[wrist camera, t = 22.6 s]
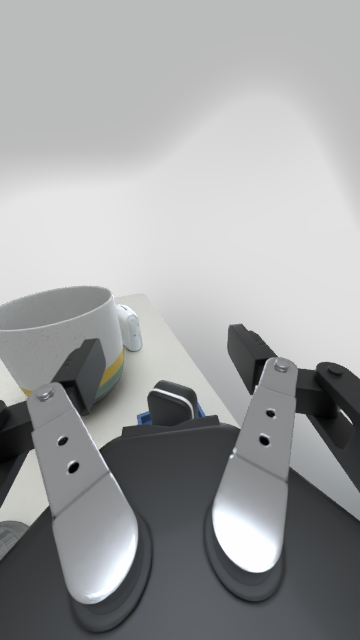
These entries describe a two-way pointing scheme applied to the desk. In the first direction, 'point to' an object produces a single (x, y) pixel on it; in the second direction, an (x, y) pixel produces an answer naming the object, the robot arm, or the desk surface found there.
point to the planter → (59, 334)
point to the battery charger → (171, 404)
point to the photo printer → (129, 328)
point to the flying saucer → (10, 535)
